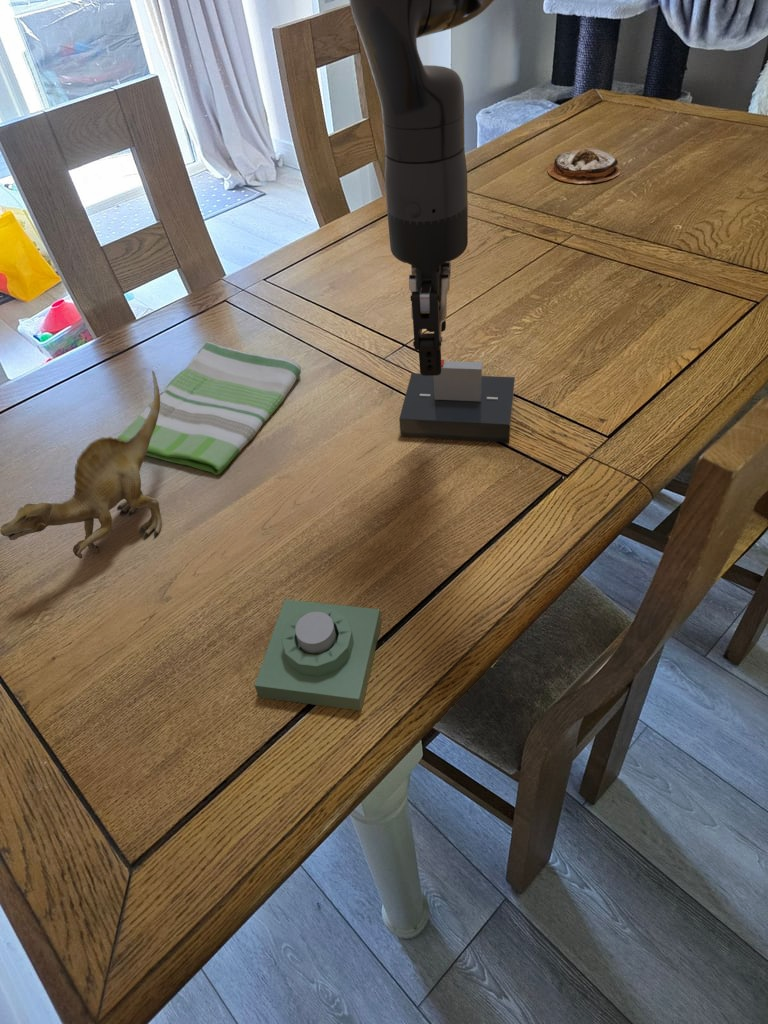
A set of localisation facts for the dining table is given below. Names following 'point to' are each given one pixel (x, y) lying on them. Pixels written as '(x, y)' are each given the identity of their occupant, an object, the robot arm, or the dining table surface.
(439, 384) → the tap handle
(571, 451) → the dining table surface
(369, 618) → the button block
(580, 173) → the powdered cake
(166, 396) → the dish towel
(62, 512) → the dinosaur figurine
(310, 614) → the button
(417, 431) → the lever base
